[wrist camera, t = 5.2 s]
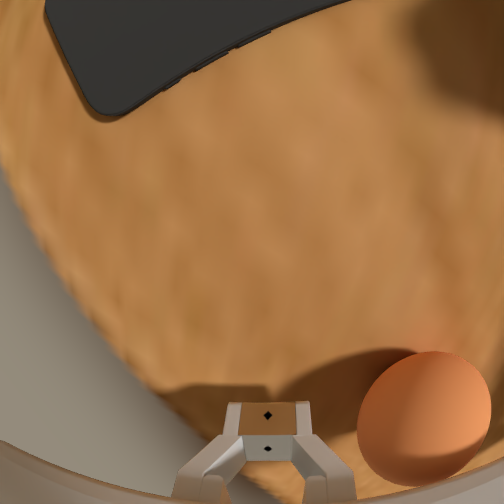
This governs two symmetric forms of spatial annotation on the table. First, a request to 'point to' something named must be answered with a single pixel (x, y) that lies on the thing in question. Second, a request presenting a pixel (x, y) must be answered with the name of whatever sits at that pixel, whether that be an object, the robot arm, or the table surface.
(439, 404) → the ball
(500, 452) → the table surface
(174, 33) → the phone
